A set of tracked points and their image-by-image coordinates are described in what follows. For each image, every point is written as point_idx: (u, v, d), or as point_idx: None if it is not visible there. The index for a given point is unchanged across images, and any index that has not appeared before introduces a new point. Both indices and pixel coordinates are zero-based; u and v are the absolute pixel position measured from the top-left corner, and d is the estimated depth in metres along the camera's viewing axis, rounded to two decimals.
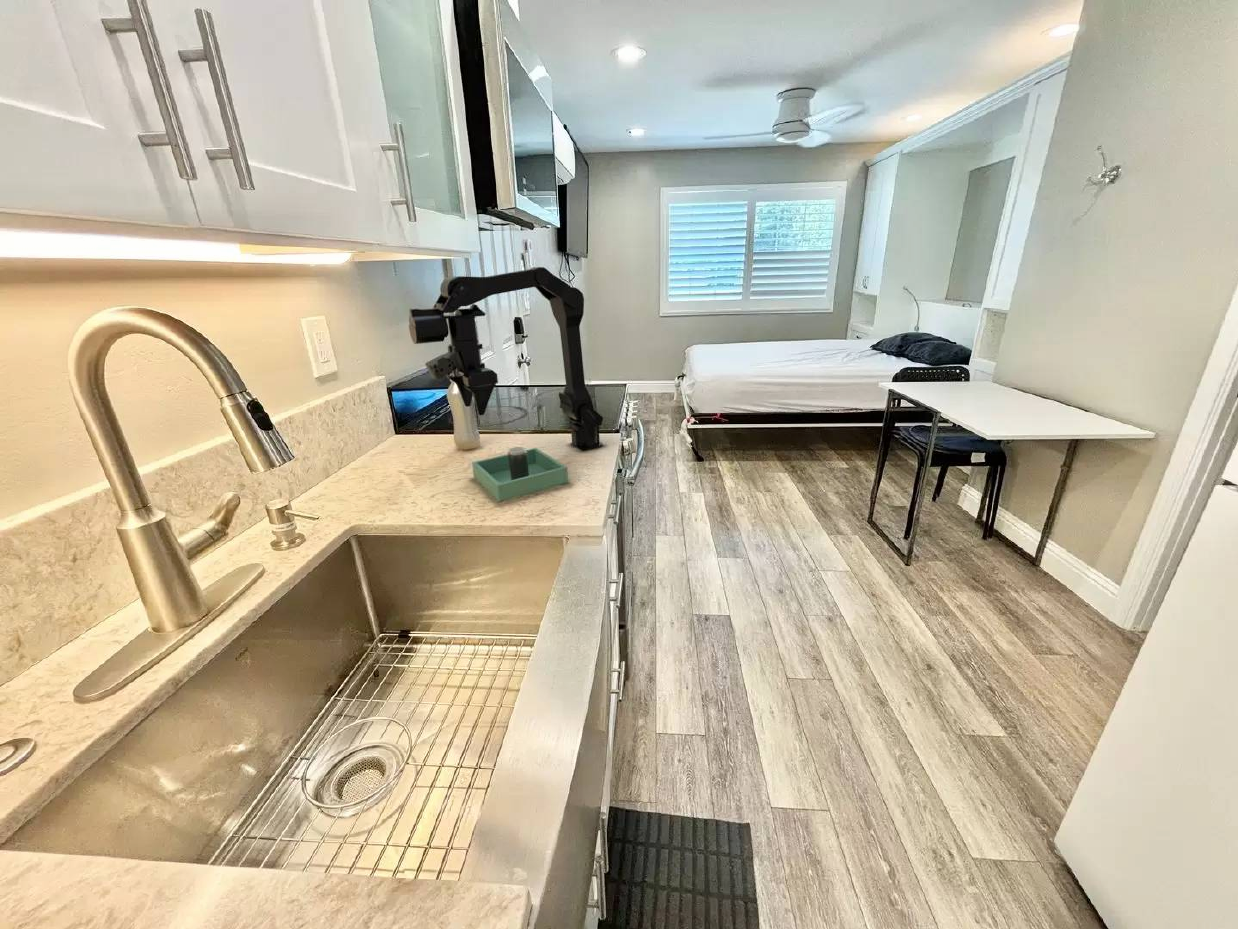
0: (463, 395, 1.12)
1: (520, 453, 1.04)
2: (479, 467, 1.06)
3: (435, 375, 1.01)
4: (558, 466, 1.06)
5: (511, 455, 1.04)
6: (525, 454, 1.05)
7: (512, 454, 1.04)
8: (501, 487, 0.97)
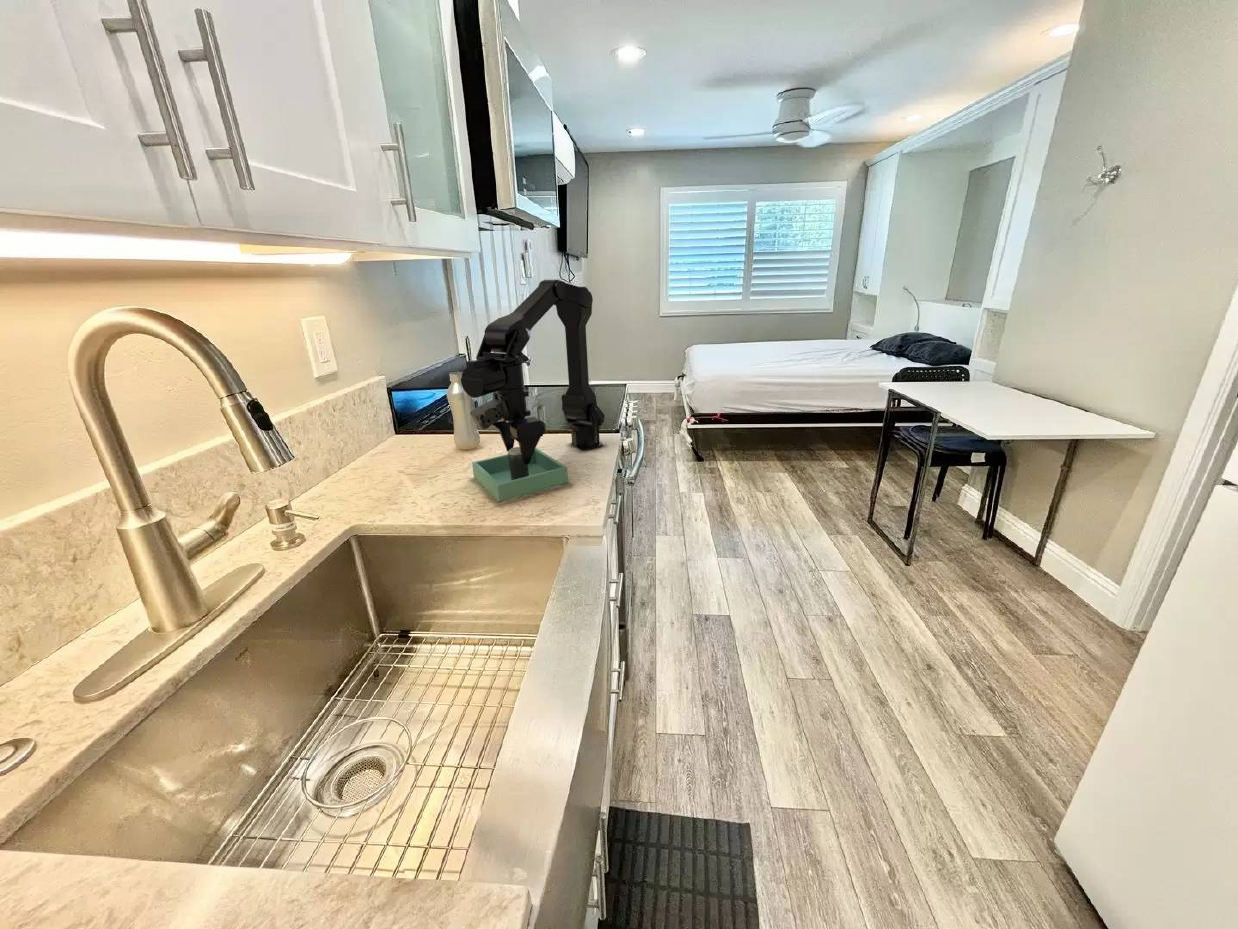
0: (505, 441, 1.08)
1: (520, 453, 1.04)
2: (479, 467, 1.06)
3: (481, 425, 0.97)
4: (558, 466, 1.06)
5: (511, 455, 1.04)
6: None
7: (512, 454, 1.04)
8: (501, 487, 0.97)
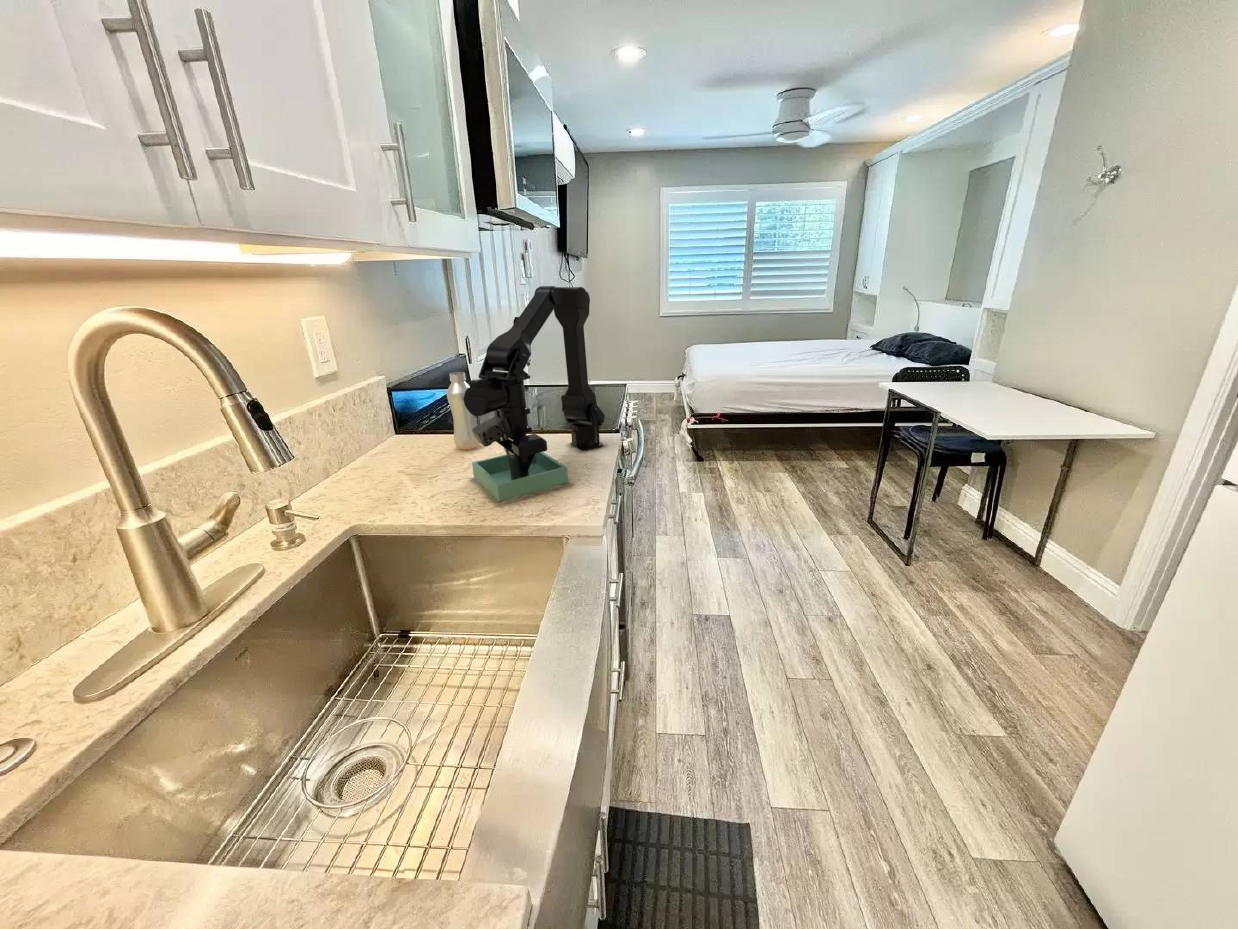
0: None
1: None
2: (479, 467, 1.06)
3: (483, 442, 0.99)
4: (558, 466, 1.06)
5: (511, 455, 1.04)
6: None
7: (512, 454, 1.04)
8: (501, 487, 0.97)
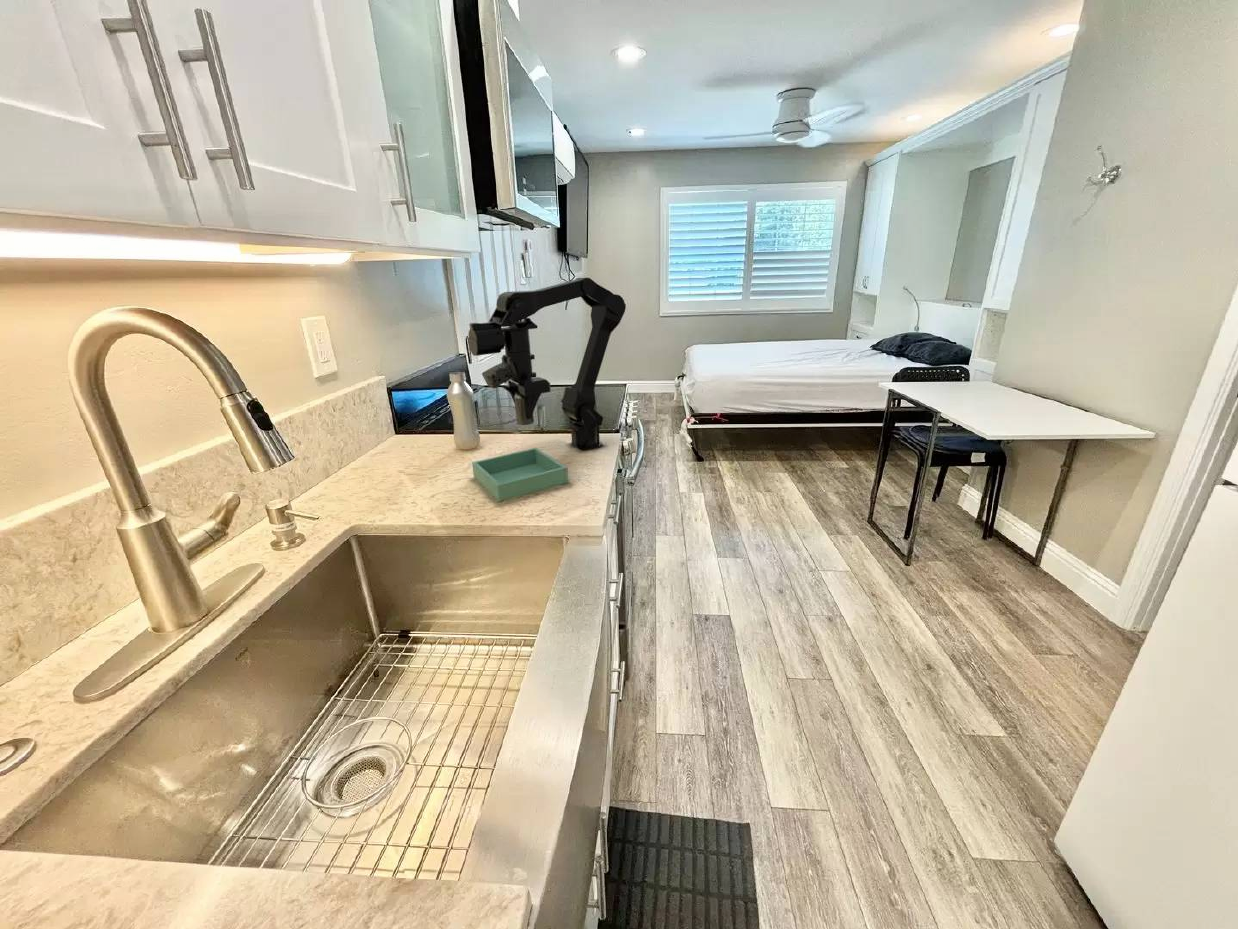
0: None
1: None
2: (479, 467, 1.06)
3: (492, 384, 1.08)
4: (558, 466, 1.06)
5: (517, 398, 1.14)
6: None
7: (518, 397, 1.14)
8: (501, 487, 0.97)
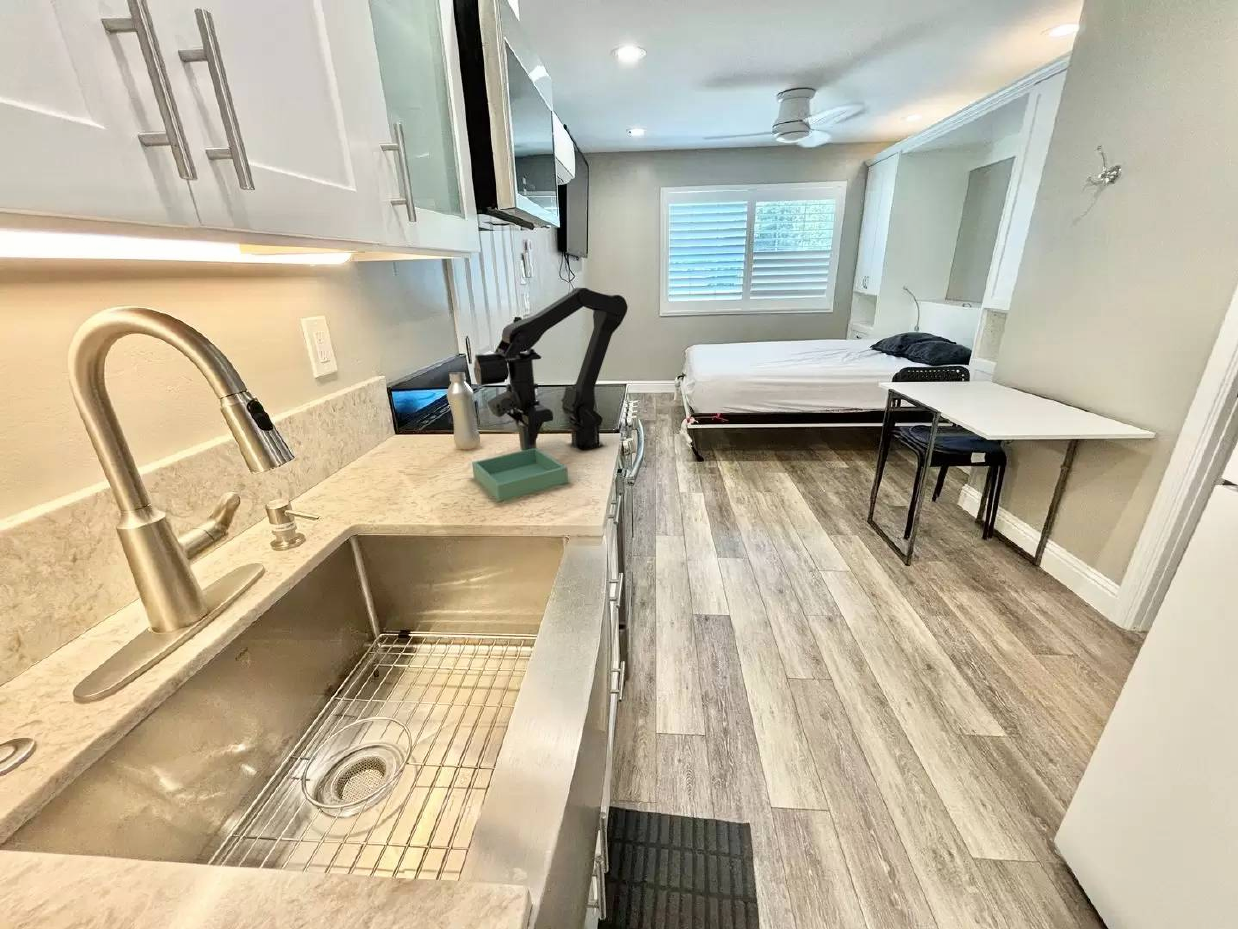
0: None
1: None
2: (479, 467, 1.06)
3: (497, 413, 1.12)
4: (558, 466, 1.06)
5: (521, 425, 1.18)
6: None
7: (521, 424, 1.17)
8: (501, 487, 0.97)
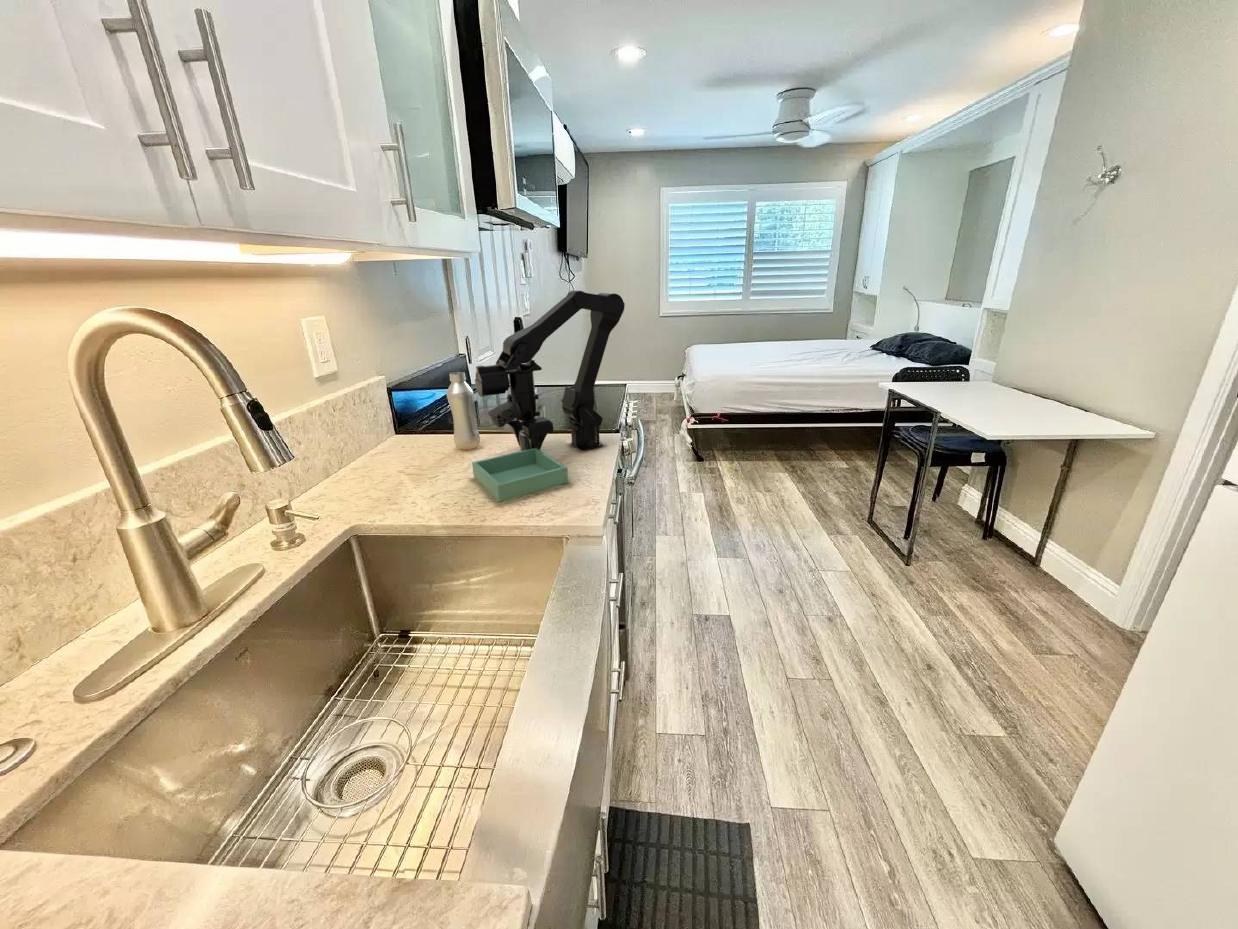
0: (518, 437, 1.24)
1: None
2: (479, 467, 1.06)
3: (498, 424, 1.13)
4: (558, 466, 1.06)
5: (522, 435, 1.19)
6: None
7: (522, 435, 1.18)
8: (501, 487, 0.97)
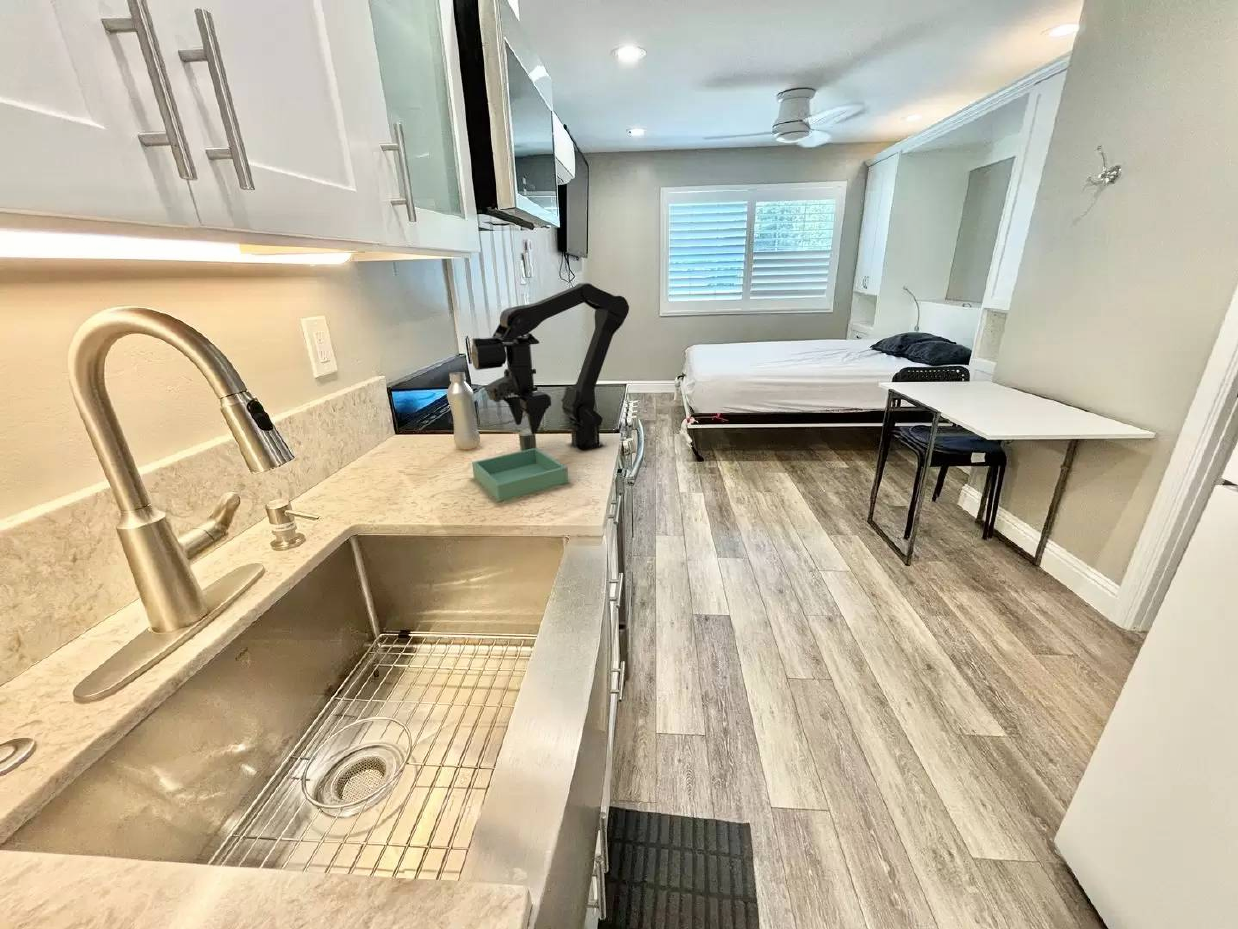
0: (515, 414, 1.22)
1: (529, 434, 1.18)
2: (479, 467, 1.06)
3: (494, 398, 1.11)
4: (558, 466, 1.06)
5: (522, 435, 1.19)
6: (534, 435, 1.19)
7: (522, 435, 1.18)
8: (501, 487, 0.97)
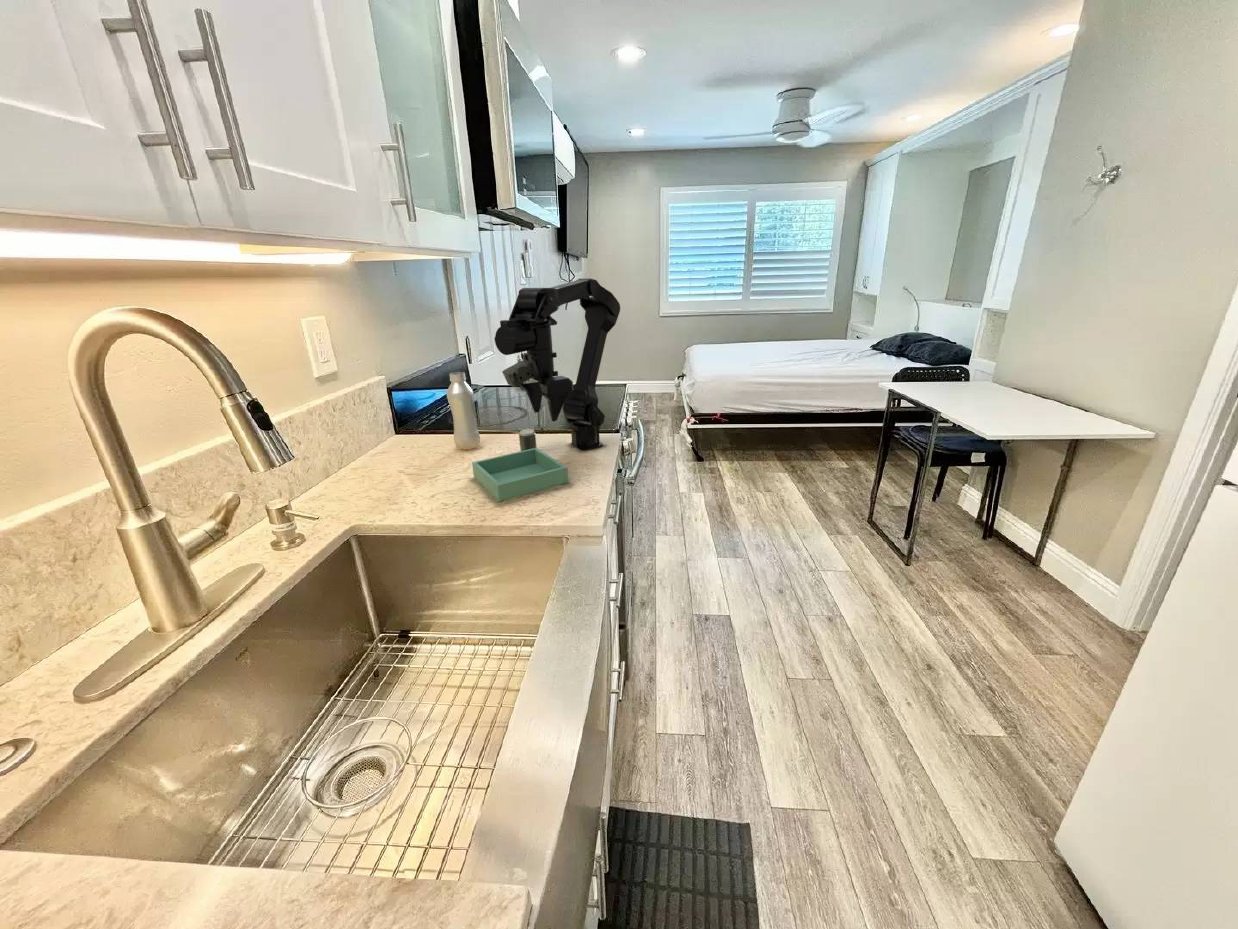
0: (533, 401, 1.16)
1: (529, 434, 1.18)
2: (479, 467, 1.06)
3: (513, 383, 1.05)
4: (558, 466, 1.06)
5: (522, 435, 1.19)
6: (534, 435, 1.19)
7: (522, 435, 1.18)
8: (501, 487, 0.97)
